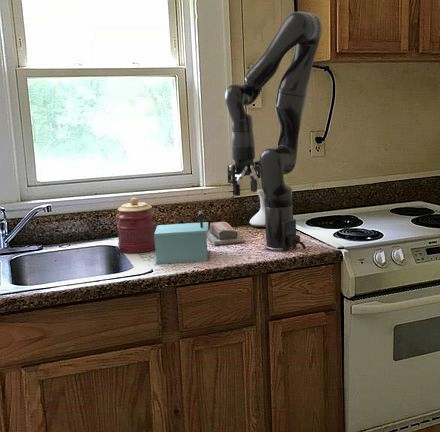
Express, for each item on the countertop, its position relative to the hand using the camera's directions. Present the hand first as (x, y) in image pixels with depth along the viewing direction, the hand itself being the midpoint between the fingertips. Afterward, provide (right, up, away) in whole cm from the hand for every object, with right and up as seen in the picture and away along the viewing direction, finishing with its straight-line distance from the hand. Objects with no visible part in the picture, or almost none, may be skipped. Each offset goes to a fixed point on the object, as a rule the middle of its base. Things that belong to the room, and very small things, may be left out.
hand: (245, 193), depth 215 cm
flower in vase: (+5, -12, +30) cm, 33 cm away
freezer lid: (-19, -12, -13) cm, 26 cm away
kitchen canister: (-37, -19, +2) cm, 41 cm away
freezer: (-19, -21, -11) cm, 30 cm away
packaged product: (-9, -16, +12) cm, 22 cm away
